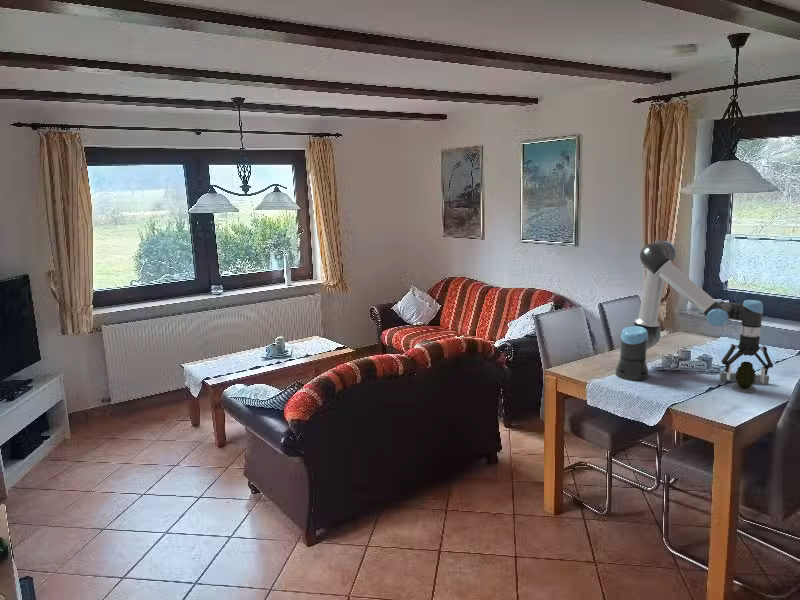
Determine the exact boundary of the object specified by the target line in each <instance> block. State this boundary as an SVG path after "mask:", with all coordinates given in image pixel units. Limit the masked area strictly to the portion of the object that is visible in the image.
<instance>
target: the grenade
mask: <svg viewBox="0 0 800 600" xmlns="http://www.w3.org/2000/svg"><path fill="white" fill-rule="evenodd" d="M755 372H756V371H755V368H754V366H753V363H752V362H751V361H742V362H741V363H740V366H738V368H737V369H736V371H735V373H736V375H737V376H736V381H738V382H736V384H738V385H739V386H740V387H741V388H743V389H747V388H749V387H751V386H752V385H753V384H755V383H754V381H755V379H754V378H755V374H756V373H755Z"/></svg>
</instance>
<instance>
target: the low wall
mask: <svg viewBox="0 0 800 600" xmlns="http://www.w3.org/2000/svg"><path fill="white" fill-rule="evenodd" d="M736 376H737V375H736V372H731V374H730V380H728V379H727V372H726V371H720V372H719V379H718V380H719V381H720V382H730V383H731V382H733V383H737V382H738V381H736ZM760 377H761V373H760V374H759V373H758V374H756V373H755V378H754V379H755V381H754V383H753V384H760V385H769V381H770V375H769V374H767V375H765V376H764V383H762V382H761V381H760Z"/></svg>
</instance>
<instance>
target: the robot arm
mask: <svg viewBox="0 0 800 600" xmlns="http://www.w3.org/2000/svg"><path fill="white" fill-rule="evenodd" d="M676 254H677V250H676V248H675V246H674V245H673V244H672V242H669V241H666V240H657V241H653V242H652V243H648V244H646V245H644V246H643V247H642V249H641V250H640V253H639V258H640V262H641V264H642V265H643V268H644V270H645V271H646V273H645V280H644V285H643V290H642V297H641V302H640V307H639V314H638V318H636V319H634V322H633V325H632V326H627V327H624V328H623V329H622V331H621V336H620V357H619V361H618V363H617V365H616V367H615V372H614V373H615V375H616V376H617V378H618V377H619V378H621V379H625V380H629V381H645V380H647V379H649V377H650V372H649V369H648V365H647V352H648V351H647V350H649V349H650V348H652V347H655V345H657V343H658V342H659V341H660V339H661V330H660V326H661V325H660V322H659V321H658V318H659V311H660V306H661V301H662V296H663V290H664V285H665V283H667V284H668V285H669V286H670V287H671V288H672V289H673V290H675V292H677V293H678V294H680V295H681V296H682V297H683V298H684V299H685V300H686V301H687V302H689V303H690V304H691V305H692V306H694V308H696V309H697V310H698V311H699V312H700V313H702V314H703V315H704V316H705V317H706V319H707V322H708V324H710V325H712V326H714V327H720V326H723V325H724V324H727V323H728V322H729V321H730V320H733V321H741V324H740V335H739V342H738V344H734V343H731V344H730V348H729V349H728V350H727V352H726V354H725V355H724V357H723V358H722V360H721V361H720V362H721V364H722V365H724V372H727V379H728V380H730V374H731V371H732V364H733V363H734V362H735V361H736V360H737V359H739V358H740V357H741V356H749V357H753V356H755V357H756V358H757V360H758V361H759V362H760V363H761V365H762V366H761V370H760V375H761V377H760V381H761V382H762V383H764V376H765V375H768V370H769V369H772V368H773V367H774V365H773V363H772V360H771V358H770V356H769V353H768V347H766V345H762V346H760V340H761V339H760V336H761V328H762V320H763V313H764V310H763V309H764V303H763V302H762V301H760V300H757V299H756V300H755V299H746V300H744V301H743V303H735V302H728V301H719V300H718V301H717V300H715V299H714V298H713V297H712V296H711V295H709V294H708V293H707V292H706V291H705V290H703V289H702V288H701V287H700V285H699V286H698V285H697V284H696V283H695V282H694V281H693V280H691V279H690V277H688V276H687V275H686V274H685V273H684V272H682V271H681V270H680V269H678V268H677V267H676V266H675V265H674V264H673V262H674V260H675V258H676V256H677V255H676ZM737 349H738V350H737ZM736 350H737V352H736V353H735V354H733V353H734V352H735V351H736ZM759 351H761V352H762V353H763V356H764V358H765V360H766V362H767V363H766V362H765V361H764V359H763V358H761V356H760V355H759V354H758V352H759ZM731 356H732V357H731Z"/></svg>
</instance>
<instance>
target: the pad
mask: <svg viewBox="0 0 800 600" xmlns="http://www.w3.org/2000/svg"><path fill="white" fill-rule="evenodd" d="M731 390H733V391H736V392H738V393H742V394H743V393H744V394H755V393H757V392H758V389H757V387H755V386H751V387H749V388H747V389H743V388H741V387H740V386H739V385H738V384H737V383H734V384H732V385H731Z"/></svg>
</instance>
